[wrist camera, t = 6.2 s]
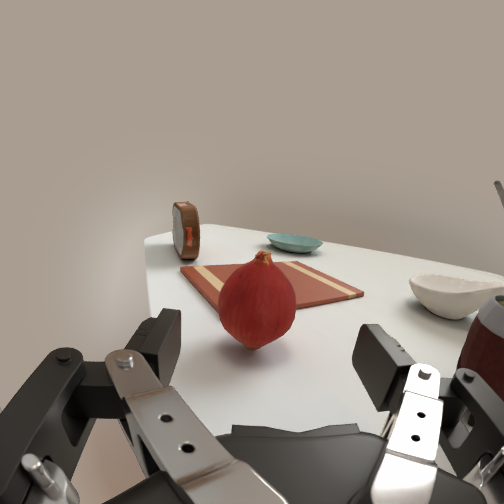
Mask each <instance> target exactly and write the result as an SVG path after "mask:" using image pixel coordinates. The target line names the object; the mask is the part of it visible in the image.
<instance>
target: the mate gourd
mask: <svg viewBox="0 0 504 504" xmlns="http://www.w3.org/2000/svg"><path fill="white" fill-rule="evenodd" d="M494 185H495V187H496V189H497V192H498V194H499V197H500V199H501V202H502V205H503V207H504V189H503V187H502V185H501V183H500V181H495V182H494ZM459 368H467V369H470V370H473V371H474V372H476V373H477V374H478V375H479V376H480V377H481V378H482V379H483V380H484V381H485V382H486V383H487V384H488V385H489V386H490V387H491V388H492V390H493V391H494V392H495V393H496V394H497V395H498V396H499V397H500V398H501V400H502V401H503V402H504V295H495V296H493V297H491V298H490V299H489V300H488V301H487V302H486V303H485V304H484V305H483V306H482V307H481V308H480V309H479V312H478V314H477V316H476V317H475V319H474V321H473V323H472V325H471V327H470V329H469V332H468V335H467V338H466V342H465V344H464V346H463V348H462V351H461V354H460V357H459V360H458V364H457V369H459ZM457 369H456V370H457ZM468 424H469V425H470V426H473V427H474V424H475V419H474V416H473V415H472V414H470V417H469V420H468Z"/></svg>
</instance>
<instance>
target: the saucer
mask: <svg viewBox="0 0 504 504" xmlns="http://www.w3.org/2000/svg"><path fill="white" fill-rule="evenodd" d="M267 238H268V239H269V241H270V242H271V243H272V244H273V245H275V246H276V247H277V248H279V249H281V250H284V251H288V252H294V253H307V252H311V251H313V250H315V249H317V248H318V247H320V246H321V245H322V244H323V242H321V241H319V240H317V239H314V238H310V237H305V236H300V235H292V234H270V235H267Z"/></svg>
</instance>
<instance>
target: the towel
mask: <svg viewBox="0 0 504 504" xmlns="http://www.w3.org/2000/svg"><path fill="white" fill-rule="evenodd" d="M273 263H274V264H275V265H276V266H277V267H278V268H279V269H280V270H281V271H282V272H283V273H284V274H285V276H286V277H287V278H288V280H289V281H290V283H291V284H292V286H293V289H294V291H295V295H296V309H299V308H305V307H311V306H316V305H321V304H327V303H332V302H337V301H342V300H347V299H352V298H356V297H361V296H364V292H363V291H361V290H359V289H357V288H355V287H352V286H350V285H348V284H346V283H344V282H342V281H339V280H337V279H335V278H333V277H331V276H328V275H326V274H324V273H322V272H320V271H317V270H315V269H313V268H311V267H309V266H306V265H304V264H302V263H300V262H298V261H292V262H273ZM242 265H244V264H231V265H209V266H186V267H180V271H181V272H182V273H183V274H184V275H185V276H186V278H187V279H188V280H189V281H190V282H191V283H192V284H193V285H194V287H195V288H196V289H197V290H198V291H199V292H200V293H201V294H202V295H203V296H204V297H205V299H206V300H207V301H208V302H209V303H210V304H211V305H212V306H213V307H214V308H215V309H216V310H217V311H218V298H219V294H220V291H221V288H222V286H223V285H224V283H225V282H226V280H227V279H228V278H229V277H230V275H231V274H232V273H233V272H234V271H235V270H236V269H237V268H239V267H241V266H242ZM218 313H219V311H218Z"/></svg>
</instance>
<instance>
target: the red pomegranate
mask: <svg viewBox="0 0 504 504" xmlns="http://www.w3.org/2000/svg"><path fill="white" fill-rule="evenodd" d="M255 256H256V257H255V258H254V259H253V260H252V261H250V262H248V263H246V264H244V265H242V266H241V267H239V268H237V269H236V270H235V271H234V272H233V273H232V274H231V275H230V277H229V278H228V279H227V280H226V282H225V283H224V285H223V286H222V288H221V291H220V294H219V298H218V311H219V316H220V321H221V323H222V325H223V327H224V329H225V330H226V331H227V332H228V333H229V334H231V335H232V336H233V337H234V338H235V339H236V340H238V341H239V342H241V343H242V344H243V345H244V346H245V347H246V348H248V349H251V350H256V349H259V348H261V347H262V346H264V345H266V344H268V343H270V342H272V341H274V340H276V339H278V338H279V337H281V336H283V335H284V334H285V333H286V332H287V331H288V330H289V329H290V327H291V325H292V323H293V321H294V318H295V312H296V295H295V291H294V289H293V286H292V284H291V283H290V281H289V280H288V278H287V277H286V276H285V274H284V273H283V272H282V271H281V270H280V269H279V268H278V267H277V266H276V265H275V264H274V263H273V262H272V259H271V253H270V252H268V251H265V250H261V251H259V252H258V253H257V255H255Z"/></svg>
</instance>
